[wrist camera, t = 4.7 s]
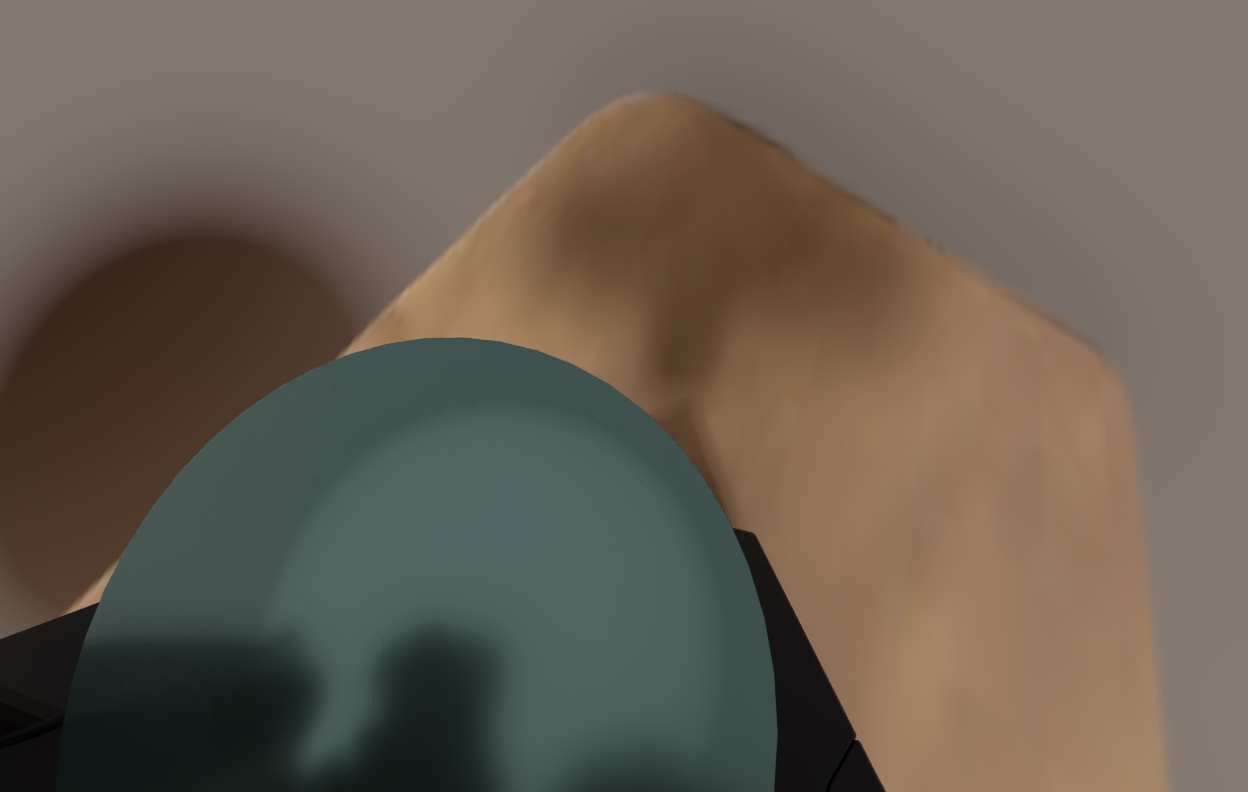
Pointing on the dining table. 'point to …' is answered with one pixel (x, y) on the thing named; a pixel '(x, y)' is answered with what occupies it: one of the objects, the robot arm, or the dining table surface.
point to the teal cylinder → (429, 598)
